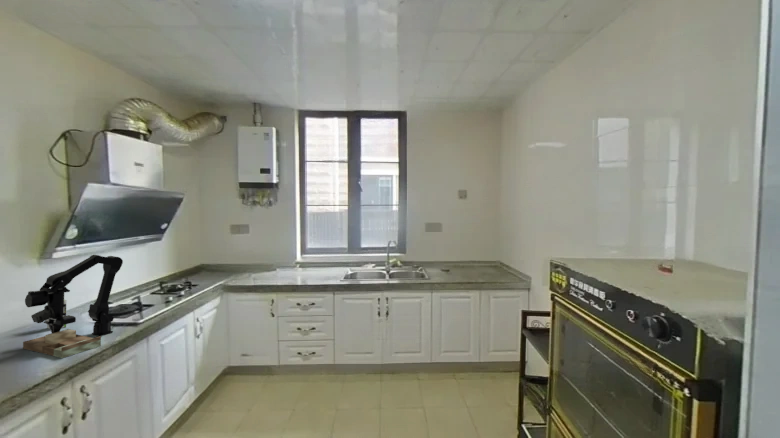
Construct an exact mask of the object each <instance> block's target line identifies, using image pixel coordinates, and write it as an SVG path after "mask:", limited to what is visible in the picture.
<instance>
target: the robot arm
mask: <svg viewBox="0 0 780 438" xmlns="http://www.w3.org/2000/svg"><path fill="white" fill-rule="evenodd" d="M123 263H124V261H123V258H121V257H119V256H114V255H113V256H112V255H108V256H101V255H99V254H91V255H90V256H89V257H87V258H86V259H84V260H82V261H81V262H79V263H77V264H75V265H74V266H72V267H70V268H68V269H66V270H64V271H59V272H57V273H54V274H52V275H48V277H47V278H46V280H45V283H44V284H43V285H42V286H41V287H40V288H39V290H33V291H32V290H30V291H28V292H27V295H26V296H25V299H24V303H25V306H26V307H27V308H34V307H39V306H40V307H41V306H44V309H42V310H39V311H38V312H35V313H33V314H31V316H30V318H31V319H32V322H33V323H36V324H41V323H44V324H46V326H47V325H49V327H50V329H49V330H50V332H51V333H55V332H59V331H62V330H61V329H62V326H63V325H65V324H66V325H69V324H72V323H76V320H77V319H76V316H74V315H71V314H70V315H67V312H66V313H64V307H66V308H67V303H66V304H64V300H65V293H70V292H71V290H70V289H68V288H67V287H66V286H68V284H70V283H71V282H72V281H73V280H74V278H76V277H77V276H79V275H81V274H83V273H84V272H86V271H88V270H89V269H92V267H95V266H96V265H97V264H102V269H103V276H102V280H101V283H100V287H99V290H98V293H97V297H96V300H95V302H94V303H93V304H92V303H90V304H89V309H88V311H87V313H88V316H89V317H90V319H91V320H92V321H93V324H94V325H93V328H92V331H93V332H92V333H91V335H95V336H98V337H99V336H101V337H102V336H105V335H108V334H111V333H113V332H114V331H113V330H112V322H113V321H114V319H115V317H114V316H113V315H111V314H110V307H109V299H110V296H111V291H112V289H113V284H114V281H115V277H116V275H117V273H118V272H119V271H120V270H121V267H122V266H123ZM47 303H48V305H47ZM64 315H66V316H64Z"/></svg>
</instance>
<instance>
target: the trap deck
mask: <svg viewBox="0 0 780 438" xmlns="http://www.w3.org/2000/svg"><path fill="white" fill-rule="evenodd" d="M101 340H102V336H99V335H98V336H97V337H90V336H86V335H81V334H77V333H76V338H74V339H70V340H67V341H63V342H60V343H56V344H49V343H45V335H44V336H41V337H40V336H39V337H36V338H31V339H28V340H25V341H23V342H22V349H24V350H28V351H31V352H36V353H40V354H45V355H49V356H52V357H55V358H61V359H64V358H66V357H67V358H68V357H70V356H73V355H76V354H77V355H78V354H79V353H83V352H86V351H90V350H92V349H95V348H99V347H101V345H102V343H101V342H102V341H101Z"/></svg>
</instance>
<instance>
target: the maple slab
mask: <svg viewBox="0 0 780 438" xmlns="http://www.w3.org/2000/svg"><path fill="white" fill-rule="evenodd" d="M76 334H77V330H75V329H71V328H70V329H69V328H67V329H63V330H60V331H59V332H55V333H52V332H51V333H48V334H45V335H44V336H45V343H49V344H56V343H60V342H63V341H67V340H70V339H74V338H76Z"/></svg>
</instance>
